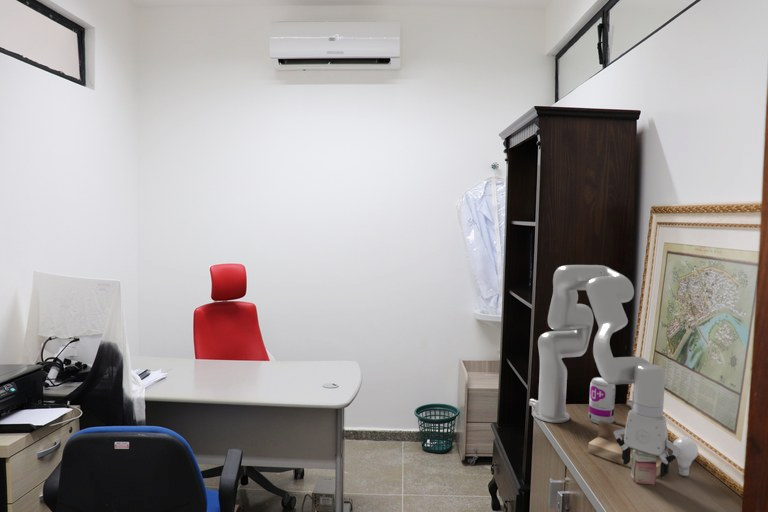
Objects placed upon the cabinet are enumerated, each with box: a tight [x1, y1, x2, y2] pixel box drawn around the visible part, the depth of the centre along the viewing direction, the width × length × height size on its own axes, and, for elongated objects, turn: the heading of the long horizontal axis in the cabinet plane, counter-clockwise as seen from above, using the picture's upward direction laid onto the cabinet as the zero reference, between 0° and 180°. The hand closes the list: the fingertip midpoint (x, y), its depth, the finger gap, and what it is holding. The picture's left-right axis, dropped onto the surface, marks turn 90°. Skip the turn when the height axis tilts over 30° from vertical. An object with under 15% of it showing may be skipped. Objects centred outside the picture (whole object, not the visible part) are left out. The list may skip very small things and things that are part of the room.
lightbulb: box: [672, 436, 699, 477], centre depth 145 cm, size 6×6×11 cm
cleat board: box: [587, 420, 669, 478], centre depth 154 cm, size 20×8×8 cm, turn 44°
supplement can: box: [588, 376, 616, 425], centre depth 183 cm, size 8×8×15 cm
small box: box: [630, 450, 657, 485], centre depth 142 cm, size 5×4×8 cm
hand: (644, 469), depth 142 cm, fingers open, 9 cm apart
